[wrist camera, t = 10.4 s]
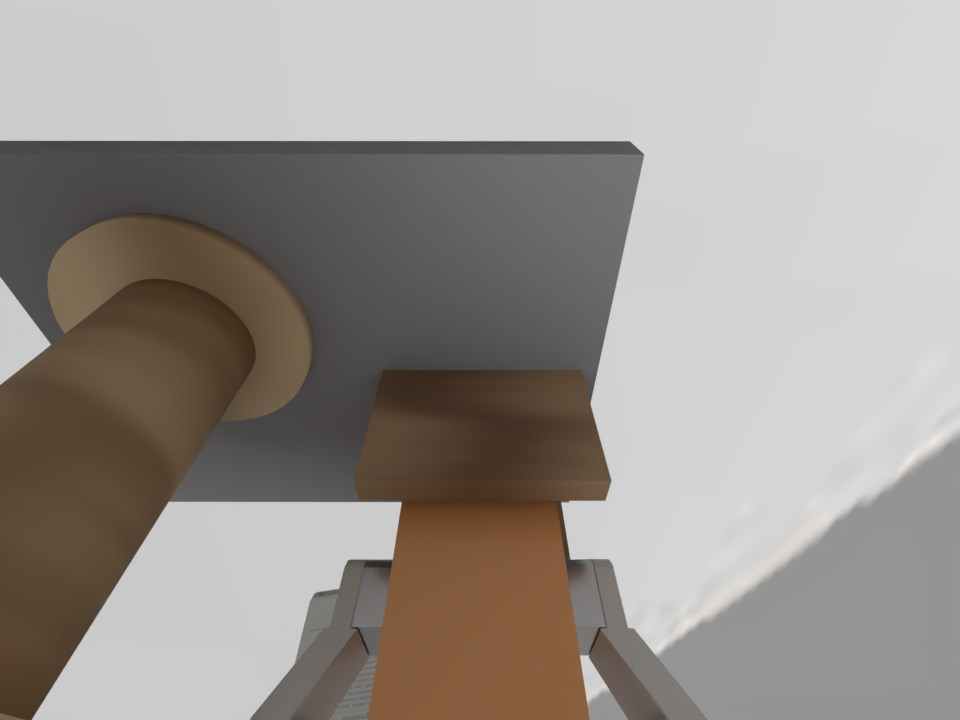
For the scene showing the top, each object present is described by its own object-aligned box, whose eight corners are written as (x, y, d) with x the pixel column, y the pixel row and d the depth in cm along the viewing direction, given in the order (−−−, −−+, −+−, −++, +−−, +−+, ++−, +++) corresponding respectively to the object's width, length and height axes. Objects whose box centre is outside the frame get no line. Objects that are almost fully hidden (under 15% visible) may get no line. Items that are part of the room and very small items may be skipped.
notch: (406, 500, 18) (390, 607, 15) (383, 369, 13) (353, 480, 10) (556, 501, 18) (573, 607, 15) (581, 370, 13) (611, 480, 10)
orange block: (420, 537, 15) (385, 842, 10) (408, 462, 12) (352, 817, 7) (538, 537, 15) (571, 842, 10) (550, 461, 12) (604, 817, 7)
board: (184, 476, 19) (169, 501, 18) (-42, 140, 11) (-92, 153, 10) (564, 477, 19) (569, 502, 18) (629, 141, 11) (644, 154, 10)
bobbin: (138, 407, 14) (-232, 841, 7) (7, 213, 10) (-1193, 741, 3) (334, 407, 14) (176, 842, 7) (278, 213, 10) (-235, 743, 3)
